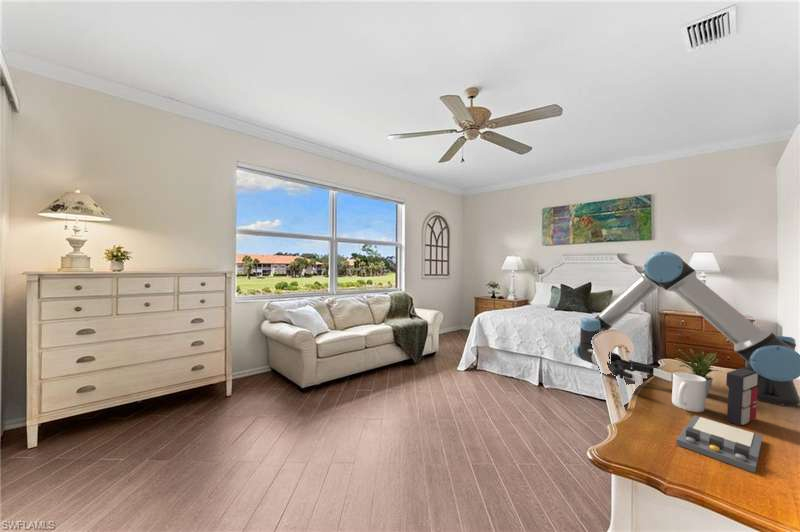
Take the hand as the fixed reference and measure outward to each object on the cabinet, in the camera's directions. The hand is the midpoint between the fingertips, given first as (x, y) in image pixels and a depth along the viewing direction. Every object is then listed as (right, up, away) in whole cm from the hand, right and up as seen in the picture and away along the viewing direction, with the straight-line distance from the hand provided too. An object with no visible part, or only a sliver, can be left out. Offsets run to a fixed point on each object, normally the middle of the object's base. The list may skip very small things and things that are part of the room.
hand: (657, 378), depth 117 cm
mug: (+2, -7, -9) cm, 12 cm away
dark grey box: (+12, -7, -17) cm, 22 cm away
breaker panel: (-7, -7, -30) cm, 31 cm away
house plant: (+19, -7, +5) cm, 21 cm away
